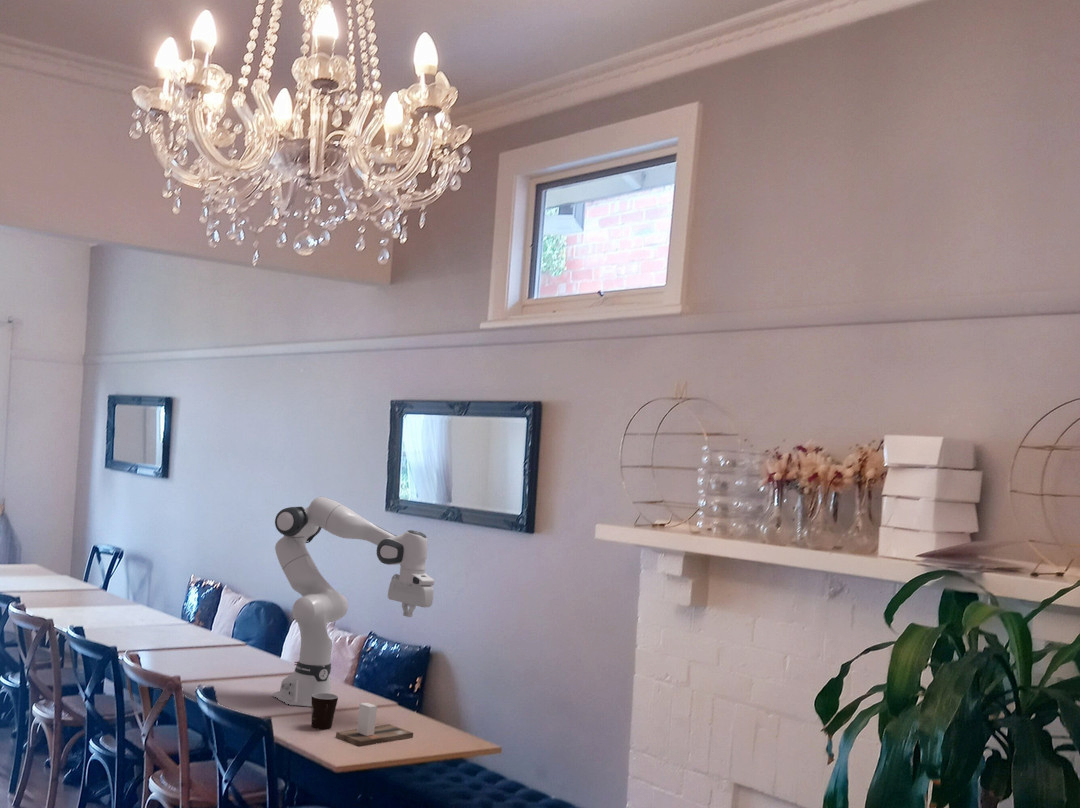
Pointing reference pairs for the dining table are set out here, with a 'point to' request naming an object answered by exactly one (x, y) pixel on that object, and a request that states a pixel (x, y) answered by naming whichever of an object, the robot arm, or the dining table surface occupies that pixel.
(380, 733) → the switch board
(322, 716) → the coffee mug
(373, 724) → the switch tab
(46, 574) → the dining table surface
